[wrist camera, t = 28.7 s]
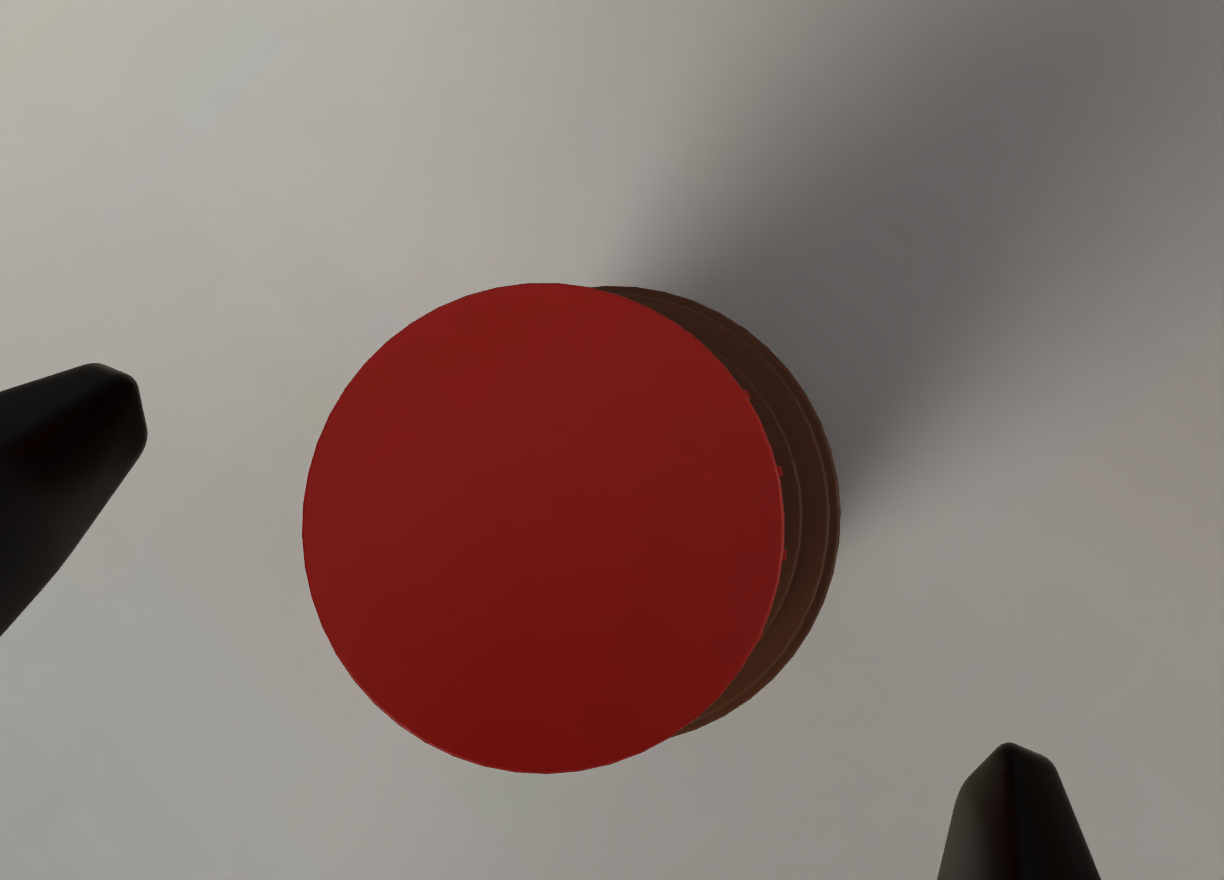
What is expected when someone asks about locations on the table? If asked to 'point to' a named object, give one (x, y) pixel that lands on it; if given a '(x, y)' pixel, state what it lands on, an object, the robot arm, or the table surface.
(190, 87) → the table surface
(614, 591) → the cap
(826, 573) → the sauce bottle
